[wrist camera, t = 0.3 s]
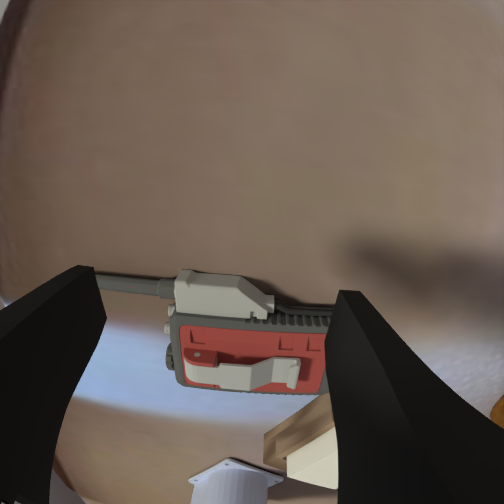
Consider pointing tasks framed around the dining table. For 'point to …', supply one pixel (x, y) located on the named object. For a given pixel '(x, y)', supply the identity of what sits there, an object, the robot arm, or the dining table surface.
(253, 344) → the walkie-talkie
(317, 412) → the key base
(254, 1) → the dining table surface
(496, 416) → the disposable coffee cup
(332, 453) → the cream key
